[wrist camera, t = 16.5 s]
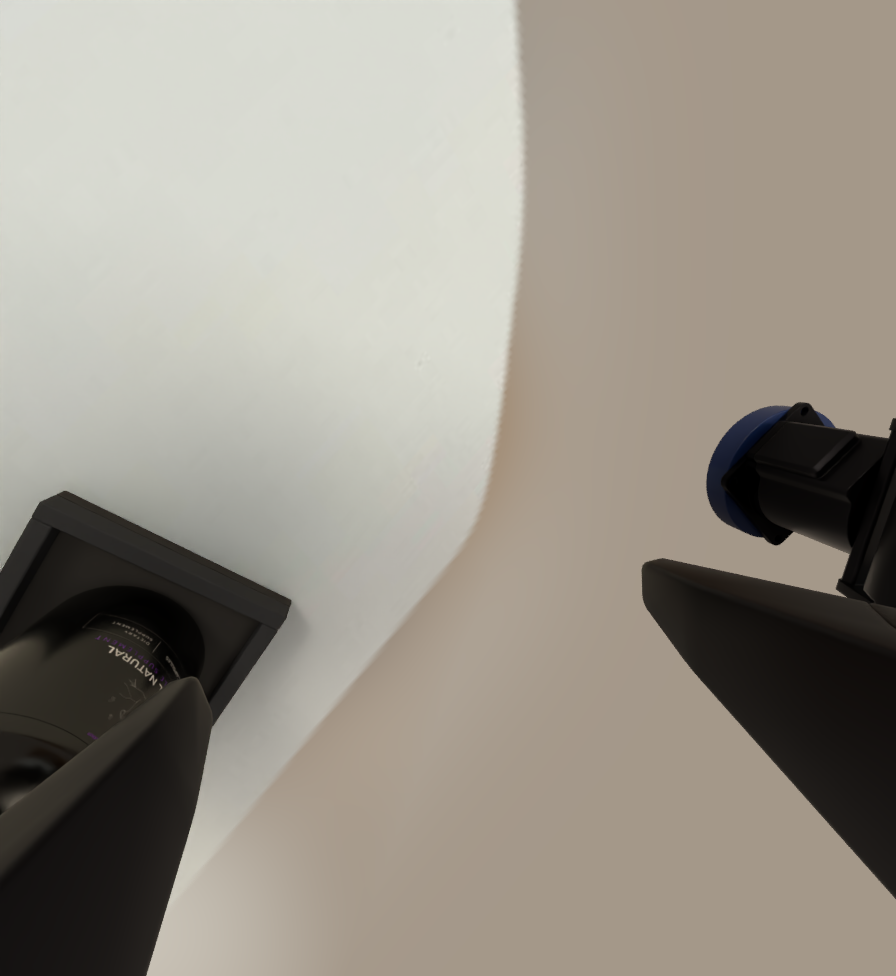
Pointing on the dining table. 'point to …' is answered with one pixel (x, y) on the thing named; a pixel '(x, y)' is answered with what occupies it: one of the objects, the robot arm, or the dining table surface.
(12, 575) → the dock pad
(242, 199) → the dining table surface
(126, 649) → the supplement bottle
